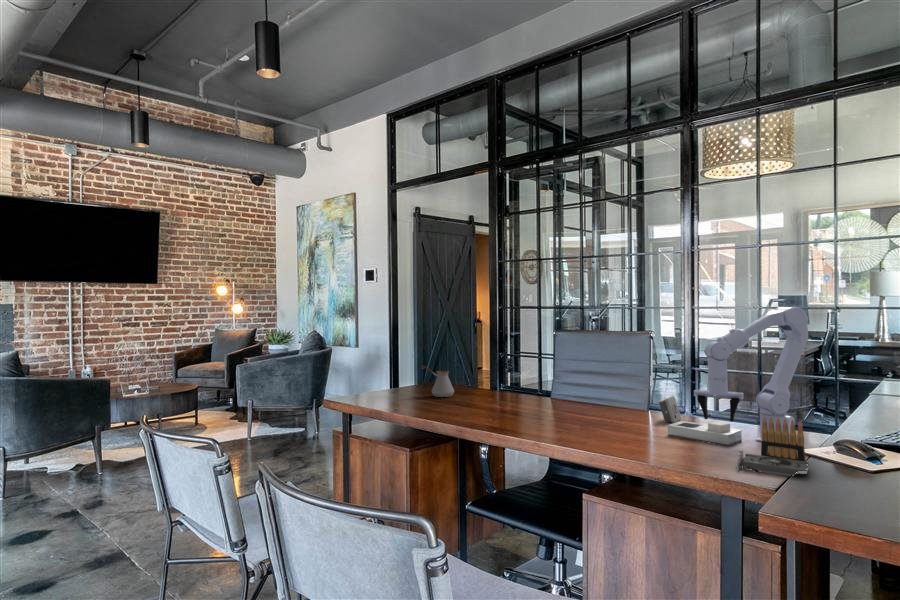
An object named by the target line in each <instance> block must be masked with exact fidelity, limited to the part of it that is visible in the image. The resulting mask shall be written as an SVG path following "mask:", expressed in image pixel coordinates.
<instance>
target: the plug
mask: <svg viewBox="0 0 900 600" xmlns="http://www.w3.org/2000/svg"><path fill="white" fill-rule="evenodd" d="M707 425H708V431H713V432H720V433H726V432H729V431H730V428H731V423H729V422H723V421H712V422H708V423H707Z"/></svg>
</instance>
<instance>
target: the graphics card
mask: <svg viewBox="0 0 900 600" xmlns="http://www.w3.org/2000/svg"><path fill="white" fill-rule="evenodd" d="M744 455H745V456H744ZM736 461H737V462H736V465H735V470H736V472H737V471H738V472H739V471H742V470H743V469H744V470H746V471H747V470H749V471H756V470H757V472H758V471H761V472H760V473H764V472H766V473H765V474H771V473H773V474H772V475H779V476H786V477H792V476H791V475H793V474H795V473H796V472H798V471H807V470H805V469H806V468H808V467H809V462H807V461H805V462H804V461H797V460H790V459H783V458H776V457H768V456H761V454H752V453H745V454H744V450H738V458H737V460H736ZM806 464H808V466H807V465H806ZM742 466H743V467H742ZM750 469H752V470H750ZM795 475H796V474H795Z"/></svg>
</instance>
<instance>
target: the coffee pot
mask: <svg viewBox="0 0 900 600" xmlns="http://www.w3.org/2000/svg"><path fill="white" fill-rule="evenodd" d="M421 369H422V370H423V369H424V370H427V372H429V373H431V374H433V376H435V377H436V379H435V382H434V385H433V386H432V389H431V394H432V395H433V396H434V397H435V396H436V397H449V396H451V397H452V396H453V395H454V393H455V389H454V387H453V385H452V382H451V380H450V378H449V373H450V371H449V370H438V371H436V373H435V372H434V371H433V370H431V368H428V367H427V366H425V365H422V366H421ZM436 397H435V398H436Z"/></svg>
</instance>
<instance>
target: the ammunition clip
mask: <svg viewBox="0 0 900 600" xmlns="http://www.w3.org/2000/svg"><path fill="white" fill-rule="evenodd" d="M803 429H804V427H803V422H802V420H799V421H798V425H797V432H796V422H795V423H794V421H793V420H792V421H791V426H790V443H789V433H788V424H787V421H786V419H785V420H784V423H783V433H781V424H780V420H779V418H778V419H777V422H776V432H774V423H773V419H772V418H770V421H769V432H768V431H767V422H766V418H765V417H764V418H763V421H762V441H761V446H760V447H761V448H760V455H761V456H768V457H776V458H783V459H790V460H797V461H804V462H806V452H805V436H804V430H803Z"/></svg>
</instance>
